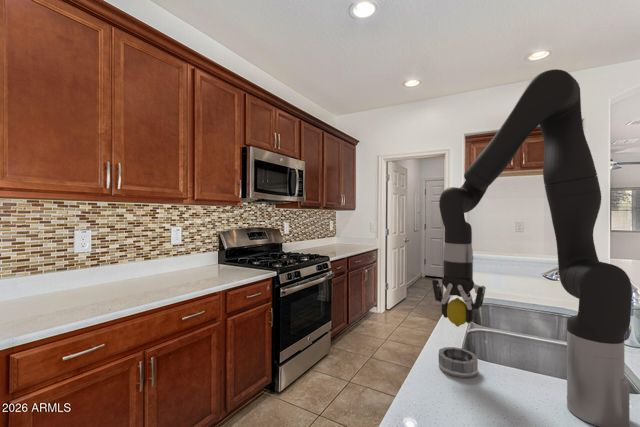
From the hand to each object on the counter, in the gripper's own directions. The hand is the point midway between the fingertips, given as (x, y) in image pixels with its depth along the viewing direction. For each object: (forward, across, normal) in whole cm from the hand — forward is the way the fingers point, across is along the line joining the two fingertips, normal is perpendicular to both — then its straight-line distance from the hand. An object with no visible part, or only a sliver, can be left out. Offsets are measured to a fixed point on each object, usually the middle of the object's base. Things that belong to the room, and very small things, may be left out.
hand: (457, 319), depth 85 cm
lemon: (+2, 0, 0) cm, 2 cm away
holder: (+14, 0, 0) cm, 14 cm away
